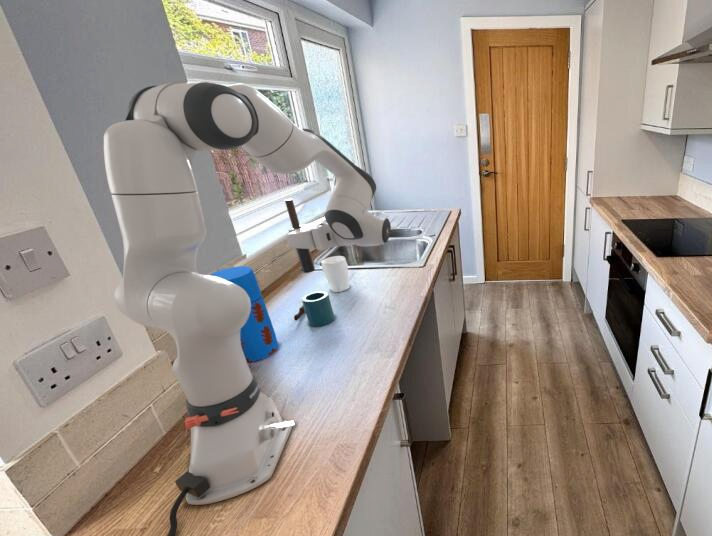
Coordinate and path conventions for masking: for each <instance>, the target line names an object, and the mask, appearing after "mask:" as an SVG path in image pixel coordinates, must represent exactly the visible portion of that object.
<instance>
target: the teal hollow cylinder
mask: <svg viewBox="0 0 712 536" xmlns="http://www.w3.org/2000/svg"><path fill="white" fill-rule="evenodd" d="M301 302H302V305H304V309H305V312H304V313H305V315H306V318H307V321H308V324H309V325H310V326H311V327H322V326H326V325H328V324H330V323H332V322H333V321H334V320H335V314H334V310H333V305H332V304H331V299H330V295H329V293H328V292H327V291H325V290H317V291H313V292H310V293H307V294H305V295H304V296H303V297H302V298H301Z"/></svg>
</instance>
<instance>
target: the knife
mask: <svg viewBox="0 0 712 536" xmlns="http://www.w3.org/2000/svg"><path fill="white" fill-rule="evenodd" d="M305 313H306V312H305V309H304V305H303V304H302V305H301V307H299V310H298V312H297V313H296V314H295V315H294V316H293V319H294V321H296V322H297V321H298V320H299V319H300V318H301V317H302V316H303V314H305Z"/></svg>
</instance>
